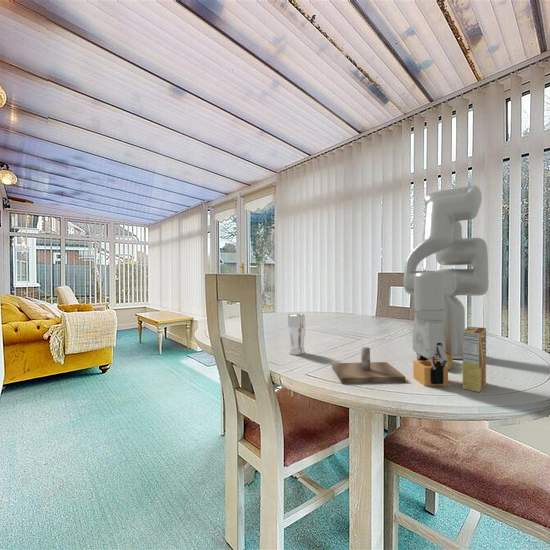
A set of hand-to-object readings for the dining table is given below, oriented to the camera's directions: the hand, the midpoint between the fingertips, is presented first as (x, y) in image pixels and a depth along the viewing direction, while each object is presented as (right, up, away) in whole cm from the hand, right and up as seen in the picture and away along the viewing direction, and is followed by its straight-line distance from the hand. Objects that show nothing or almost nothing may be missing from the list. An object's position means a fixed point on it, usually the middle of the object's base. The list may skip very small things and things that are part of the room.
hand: (430, 378), depth 84 cm
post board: (-16, -1, +7) cm, 17 cm away
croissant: (+10, -1, +18) cm, 21 cm away
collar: (0, -1, 0) cm, 1 cm away
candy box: (+10, -1, -4) cm, 11 cm away
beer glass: (-35, -2, +33) cm, 48 cm away
